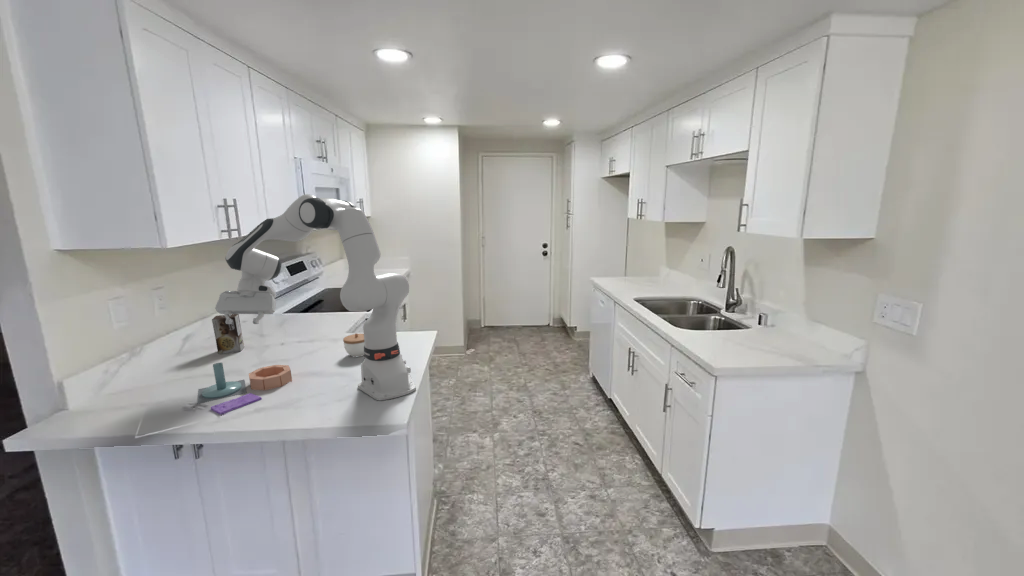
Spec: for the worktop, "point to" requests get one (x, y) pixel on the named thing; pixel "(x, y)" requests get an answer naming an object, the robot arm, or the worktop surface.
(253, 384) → the bowl
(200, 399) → the mat
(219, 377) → the lid
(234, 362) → the worktop surface
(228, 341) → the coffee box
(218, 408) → the sponges
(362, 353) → the lidded jar
